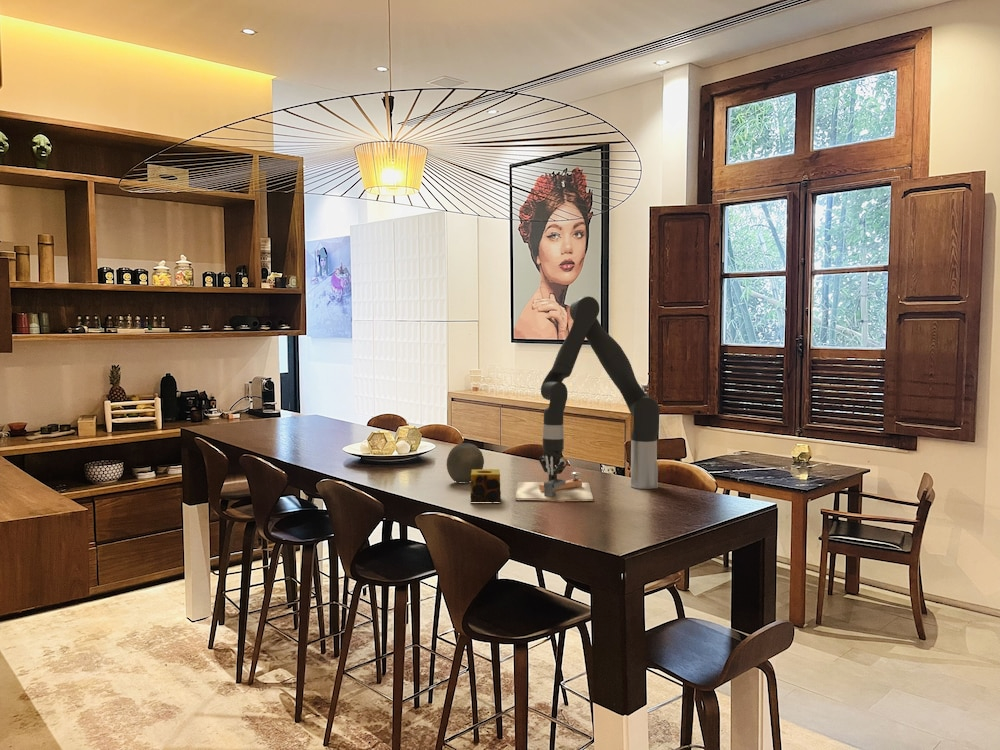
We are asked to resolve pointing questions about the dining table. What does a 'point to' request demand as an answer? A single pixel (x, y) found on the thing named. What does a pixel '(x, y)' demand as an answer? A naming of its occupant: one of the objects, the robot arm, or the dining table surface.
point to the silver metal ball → (575, 475)
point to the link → (568, 484)
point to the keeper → (552, 487)
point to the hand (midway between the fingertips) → (552, 485)
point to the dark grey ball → (464, 461)
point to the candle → (485, 485)
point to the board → (574, 493)
